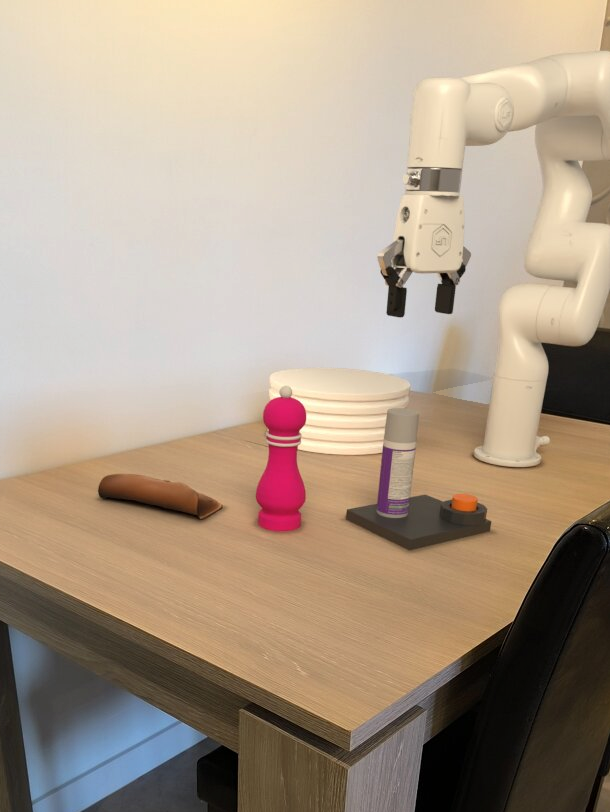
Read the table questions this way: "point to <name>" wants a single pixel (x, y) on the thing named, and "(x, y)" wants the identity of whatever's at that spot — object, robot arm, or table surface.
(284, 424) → the pepper mill
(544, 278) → the robot arm
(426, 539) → the dark grey flat block
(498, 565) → the table surface
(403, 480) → the container
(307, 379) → the plate stack
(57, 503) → the table surface
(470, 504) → the button
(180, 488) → the sunglasses case
